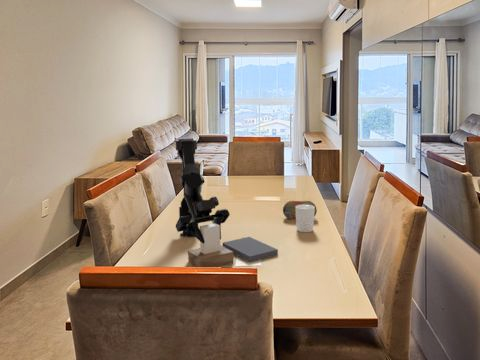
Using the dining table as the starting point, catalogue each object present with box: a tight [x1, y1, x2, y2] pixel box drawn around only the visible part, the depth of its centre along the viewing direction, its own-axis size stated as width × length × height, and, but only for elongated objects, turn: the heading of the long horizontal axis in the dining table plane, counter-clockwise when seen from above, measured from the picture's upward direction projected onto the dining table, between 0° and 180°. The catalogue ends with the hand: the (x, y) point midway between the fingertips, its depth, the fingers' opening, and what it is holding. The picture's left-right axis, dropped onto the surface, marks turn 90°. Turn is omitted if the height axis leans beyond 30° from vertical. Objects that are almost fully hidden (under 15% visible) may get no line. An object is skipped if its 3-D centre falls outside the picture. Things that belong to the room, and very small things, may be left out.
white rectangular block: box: [199, 223, 221, 254], centre depth 154 cm, size 3×6×9 cm, turn 123°
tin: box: [282, 200, 318, 220], centre depth 206 cm, size 15×3×8 cm, turn 80°
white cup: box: [295, 205, 315, 233], centre depth 189 cm, size 8×8×10 cm
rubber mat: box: [222, 236, 279, 263], centre depth 166 cm, size 18×12×2 cm, turn 33°
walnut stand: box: [187, 244, 234, 268], centre depth 155 cm, size 10×12×4 cm
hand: (212, 241), depth 153 cm, fingers closed on white rectangular block, 6 cm apart
